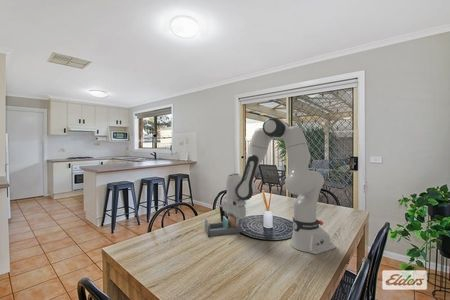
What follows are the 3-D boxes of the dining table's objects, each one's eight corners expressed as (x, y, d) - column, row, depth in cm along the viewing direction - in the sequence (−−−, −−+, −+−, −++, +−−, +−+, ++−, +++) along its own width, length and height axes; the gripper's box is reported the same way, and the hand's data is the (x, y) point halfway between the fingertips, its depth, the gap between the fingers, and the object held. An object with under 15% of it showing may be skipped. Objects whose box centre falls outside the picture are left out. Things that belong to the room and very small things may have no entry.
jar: (238, 225, 139) (238, 211, 139) (238, 229, 133) (238, 214, 133) (228, 225, 140) (228, 211, 139) (228, 229, 133) (228, 214, 133)
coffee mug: (217, 221, 150) (217, 206, 150) (221, 217, 158) (221, 203, 158) (234, 222, 147) (234, 208, 147) (236, 218, 156) (236, 204, 155)
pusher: (224, 226, 139) (224, 215, 139) (228, 232, 131) (228, 220, 131) (222, 227, 139) (222, 216, 138) (226, 232, 131) (226, 220, 130)
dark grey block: (235, 225, 142) (235, 216, 142) (240, 232, 131) (240, 222, 131) (204, 228, 137) (204, 219, 137) (208, 236, 126) (207, 226, 126)
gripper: (220, 196, 143) (220, 217, 143) (239, 204, 125) (238, 228, 126) (228, 195, 146) (228, 215, 147) (247, 202, 129) (247, 225, 129)
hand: (233, 221), depth 136 cm, fingers closed on jar, 6 cm apart
